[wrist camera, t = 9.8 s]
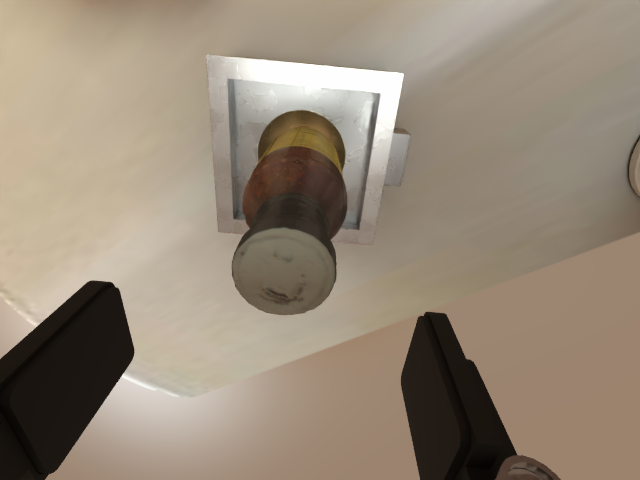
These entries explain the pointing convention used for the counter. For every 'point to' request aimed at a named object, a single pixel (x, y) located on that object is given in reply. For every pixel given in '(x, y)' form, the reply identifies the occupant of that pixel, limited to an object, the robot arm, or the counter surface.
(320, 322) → the counter surface
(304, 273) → the sauce bottle
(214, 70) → the grey square tray
